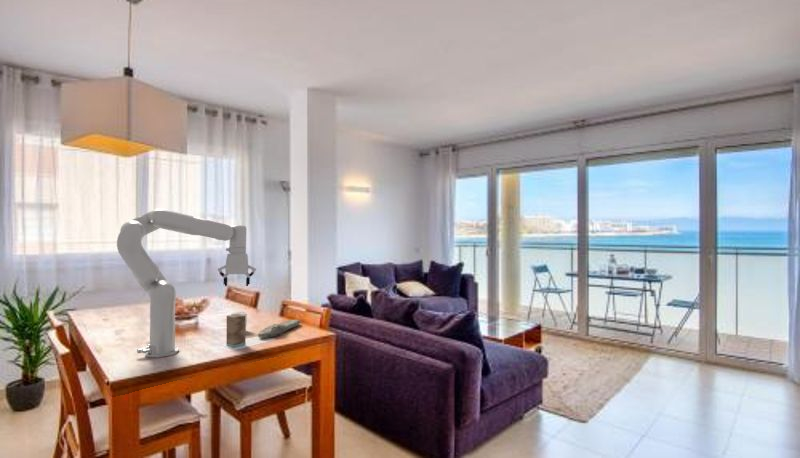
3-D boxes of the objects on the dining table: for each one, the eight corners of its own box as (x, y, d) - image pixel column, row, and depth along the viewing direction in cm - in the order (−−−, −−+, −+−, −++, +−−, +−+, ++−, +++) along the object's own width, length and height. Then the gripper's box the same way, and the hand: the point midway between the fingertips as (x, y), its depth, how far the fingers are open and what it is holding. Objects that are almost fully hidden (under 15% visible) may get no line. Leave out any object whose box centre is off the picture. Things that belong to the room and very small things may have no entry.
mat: (234, 350, 184) (234, 349, 184) (221, 345, 191) (221, 344, 191) (276, 340, 201) (276, 339, 201) (262, 335, 209) (262, 335, 209)
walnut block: (233, 348, 187) (233, 317, 186) (226, 345, 190) (226, 315, 190) (245, 345, 191) (245, 315, 191) (238, 342, 195) (238, 313, 195)
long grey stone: (305, 327, 232) (289, 326, 235) (304, 317, 233) (289, 317, 235) (270, 339, 199) (252, 338, 201) (270, 328, 199) (252, 327, 202)
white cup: (237, 335, 209) (237, 315, 209) (227, 333, 214) (227, 314, 213) (250, 331, 216) (250, 313, 216) (240, 329, 220) (240, 311, 220)
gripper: (217, 250, 193) (216, 287, 193) (255, 251, 197) (254, 286, 197) (219, 250, 200) (218, 284, 200) (256, 250, 205) (256, 284, 205)
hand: (236, 285), depth 199 cm, fingers open, 9 cm apart
